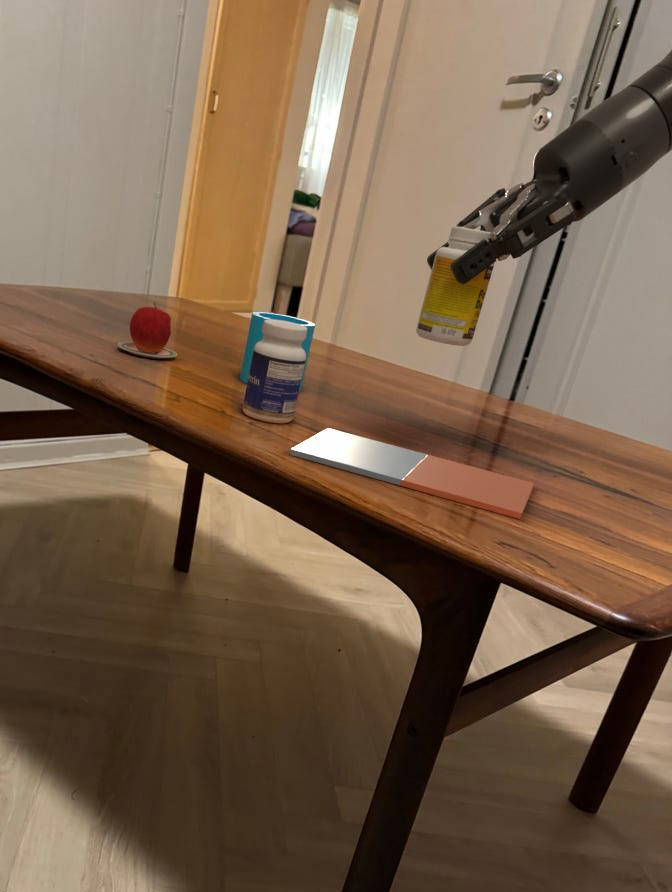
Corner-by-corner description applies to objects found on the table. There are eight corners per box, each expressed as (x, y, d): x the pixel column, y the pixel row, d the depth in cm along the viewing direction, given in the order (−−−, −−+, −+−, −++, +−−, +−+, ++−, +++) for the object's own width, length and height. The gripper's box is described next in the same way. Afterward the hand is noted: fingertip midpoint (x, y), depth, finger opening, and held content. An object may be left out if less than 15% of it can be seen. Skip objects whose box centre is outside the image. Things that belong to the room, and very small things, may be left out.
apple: (150, 347, 127) (157, 298, 124) (188, 361, 122) (196, 311, 119) (105, 346, 122) (111, 295, 119) (143, 360, 117) (150, 308, 114)
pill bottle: (237, 407, 102) (255, 315, 97) (286, 414, 103) (306, 323, 98) (245, 420, 97) (264, 323, 92) (297, 427, 98) (318, 332, 93)
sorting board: (532, 488, 91) (534, 483, 91) (520, 519, 80) (522, 513, 80) (326, 433, 98) (328, 427, 97) (289, 454, 87) (290, 448, 86)
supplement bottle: (472, 350, 87) (506, 235, 82) (415, 338, 87) (445, 224, 83) (468, 343, 92) (499, 234, 87) (413, 332, 92) (442, 223, 88)
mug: (281, 394, 113) (295, 326, 109) (227, 377, 116) (239, 311, 113) (325, 387, 122) (340, 325, 118) (275, 372, 126) (287, 311, 122)
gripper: (546, 120, 88) (399, 232, 91) (627, 113, 75) (454, 243, 79) (576, 189, 91) (434, 295, 94) (659, 194, 79) (491, 316, 82)
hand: (443, 271), depth 86 cm, fingers closed on supplement bottle, 5 cm apart
